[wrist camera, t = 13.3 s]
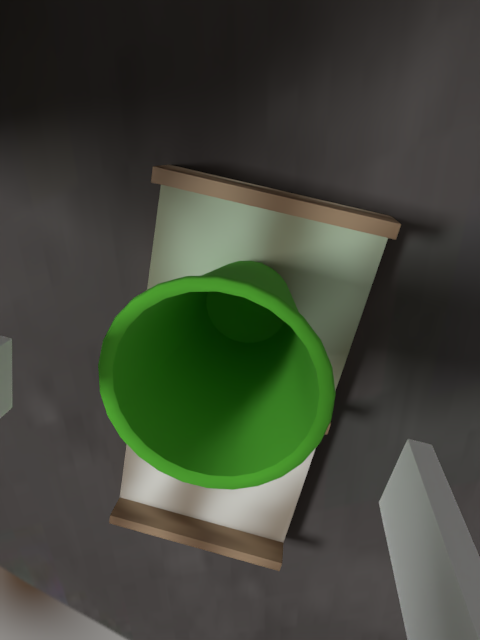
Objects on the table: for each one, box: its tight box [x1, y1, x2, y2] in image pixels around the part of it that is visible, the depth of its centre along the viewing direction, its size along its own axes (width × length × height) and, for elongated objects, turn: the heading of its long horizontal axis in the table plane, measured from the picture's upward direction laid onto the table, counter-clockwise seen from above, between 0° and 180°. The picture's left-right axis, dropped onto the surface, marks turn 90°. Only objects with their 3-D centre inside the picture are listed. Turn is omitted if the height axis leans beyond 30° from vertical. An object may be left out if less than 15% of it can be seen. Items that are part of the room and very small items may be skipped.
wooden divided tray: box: [109, 165, 401, 571], centre depth 28 cm, size 13×26×3 cm, turn 168°
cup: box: [98, 261, 336, 490], centre depth 21 cm, size 9×9×11 cm
